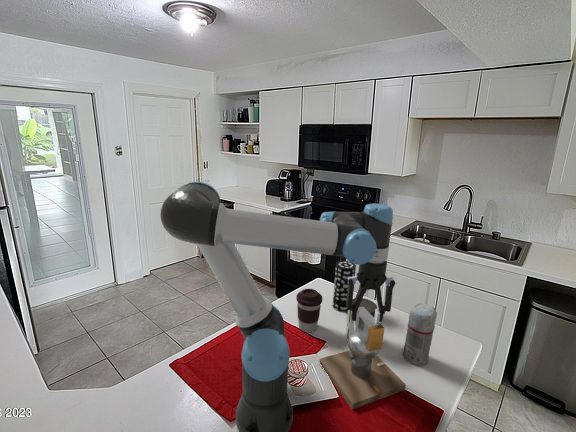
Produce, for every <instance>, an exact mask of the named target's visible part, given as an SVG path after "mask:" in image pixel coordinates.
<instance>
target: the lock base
mask: <svg viewBox="0 0 576 432" xmlns="http://www.w3.org/2000/svg"><path fill="white" fill-rule="evenodd" d="M318 362H320V364H321V365H322V367H323V368H324V370H325V371H326V373H327V374H328V375H327V374H326V373H325V374H326V375H327V377H328V376H329V377H328V378H329V380H330V381H331V382H332V384H333V385H334V387H335V388H336V389H337V391H338V392H339V394H340V395H341V396H342V398H343V399H344V400H345V402H346V404H348V406H349V408H350V409H351V410H355V409H357V407H358V408H360V407H362V406H365V404H366V405H368V403H369V404H371V403H374V402H377V401H379V400H382V399H384V398H387V397H390V396H392V395H394V394H398V393H401V392H403V391H406V386H407V384H406V383H405V382H404V381H403V380H402V379H401V378H400V377H399V376H398V375H397V374H396V373H395V372H394V371H393V370H392V369H391V368H390V367H389V366H388V365H387V364H386V363H385V362H384V361H383V359H381V358H380V357H379V355H377V356H376V357H374V358H371V359H364V358H360V357H357V356H355V355H354V354H352V353H351V351H350V350H349V349H348V350H345V351H342V352H338V353H334V354H331V355H329V356H324V357H321V358H319V361H318ZM320 364H319V365H320ZM322 367H321V368H322ZM323 368H322V369H323ZM324 370H323V371H324ZM325 371H324V372H325Z"/></svg>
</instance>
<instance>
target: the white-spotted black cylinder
mask: <svg viewBox="0 0 576 432" xmlns="http://www.w3.org/2000/svg"><path fill="white" fill-rule="evenodd" d="M356 266H357V264H353V263H351V262H350V261H348V260H339V261H336V264H335V274H334V285H333V295H332V296H333V298H332V308H333V309H334V310H336V311H338V312H342V313H348V309H347V306H346V301H347V293H348V284H349V283H348V279H347V277H348V276H351V277H353V276H356V269H357V268H356Z"/></svg>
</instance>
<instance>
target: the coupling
mask: <svg viewBox="0 0 576 432" xmlns="http://www.w3.org/2000/svg"><path fill="white" fill-rule="evenodd" d="M358 310H359V313H360V314H359V324H358V332H355V330H354V321H352V318H351V324H350V328H351V330H352V331H351V332H350V336H349V342H348V351H349V350H350V351H351V353H352V354H354V355H355V356H357V357H360V358H364V359H371V358H374V357H376V356H379V355H378V354H379V351H380V350H383V343H384V337H385V335H384V334H385V329H386V328H385V327H384V325H383V324H381V322H378V321H377V320H376V319H375V318H374V317H373V316H372V315H371V314H370V313H369V312H368V311H367V310H366V309H365V308H364V307H359V308H358Z"/></svg>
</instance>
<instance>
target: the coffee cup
mask: <svg viewBox="0 0 576 432" xmlns="http://www.w3.org/2000/svg"><path fill="white" fill-rule="evenodd" d="M295 298H296V299H295V300H296V302H297V307H296V308H297V320H298V325H297V326H298V328H299V329H300V330H301V331H302V332H305V333H312V332H314V331H316V330H317V328H318V322H319V319H320V313H321V305H322V303H323V295H322V294H321V293H320V292H319V291H318V290H316V289H314V288H304V289H302V290H301V291H299V292H298V293H296V297H295Z"/></svg>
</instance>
